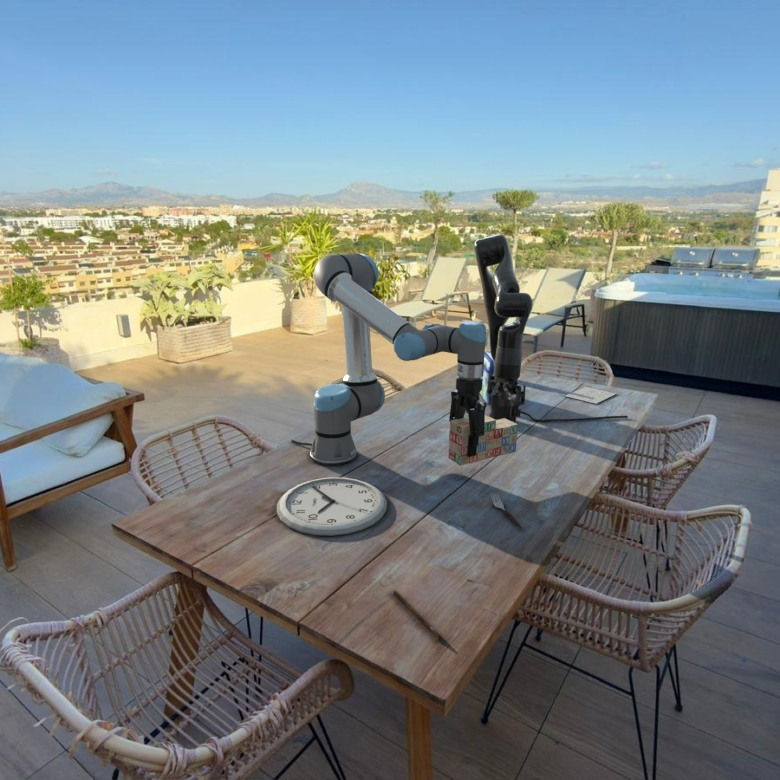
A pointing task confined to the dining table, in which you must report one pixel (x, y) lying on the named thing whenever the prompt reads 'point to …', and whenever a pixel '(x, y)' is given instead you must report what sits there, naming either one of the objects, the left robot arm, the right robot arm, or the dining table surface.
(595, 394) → the invitation card
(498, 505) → the fork
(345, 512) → the wall clock
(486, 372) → the lunch box
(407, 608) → the dark brown stick
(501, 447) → the stack of blocks
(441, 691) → the dining table surface
